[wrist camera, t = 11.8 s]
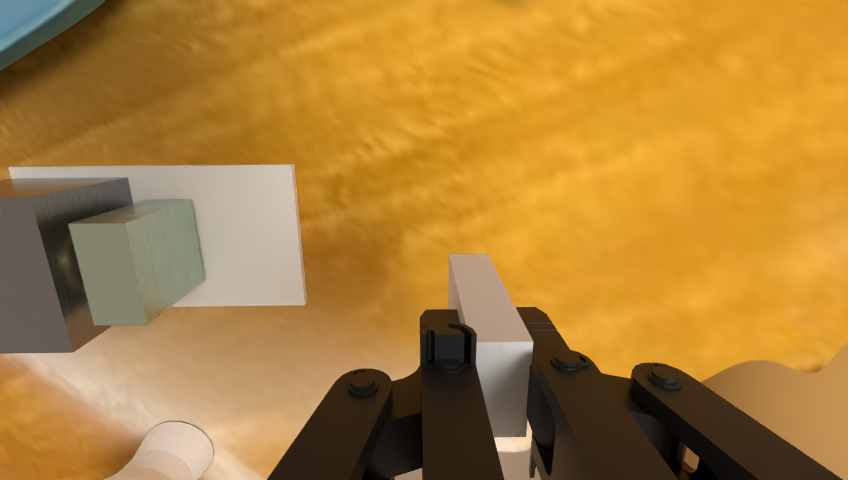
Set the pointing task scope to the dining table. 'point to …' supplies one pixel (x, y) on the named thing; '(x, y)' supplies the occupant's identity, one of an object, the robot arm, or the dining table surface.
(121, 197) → the bearing block
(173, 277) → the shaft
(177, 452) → the cup
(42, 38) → the casserole dish
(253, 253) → the base board
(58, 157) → the dining table surface
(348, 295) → the dining table surface
